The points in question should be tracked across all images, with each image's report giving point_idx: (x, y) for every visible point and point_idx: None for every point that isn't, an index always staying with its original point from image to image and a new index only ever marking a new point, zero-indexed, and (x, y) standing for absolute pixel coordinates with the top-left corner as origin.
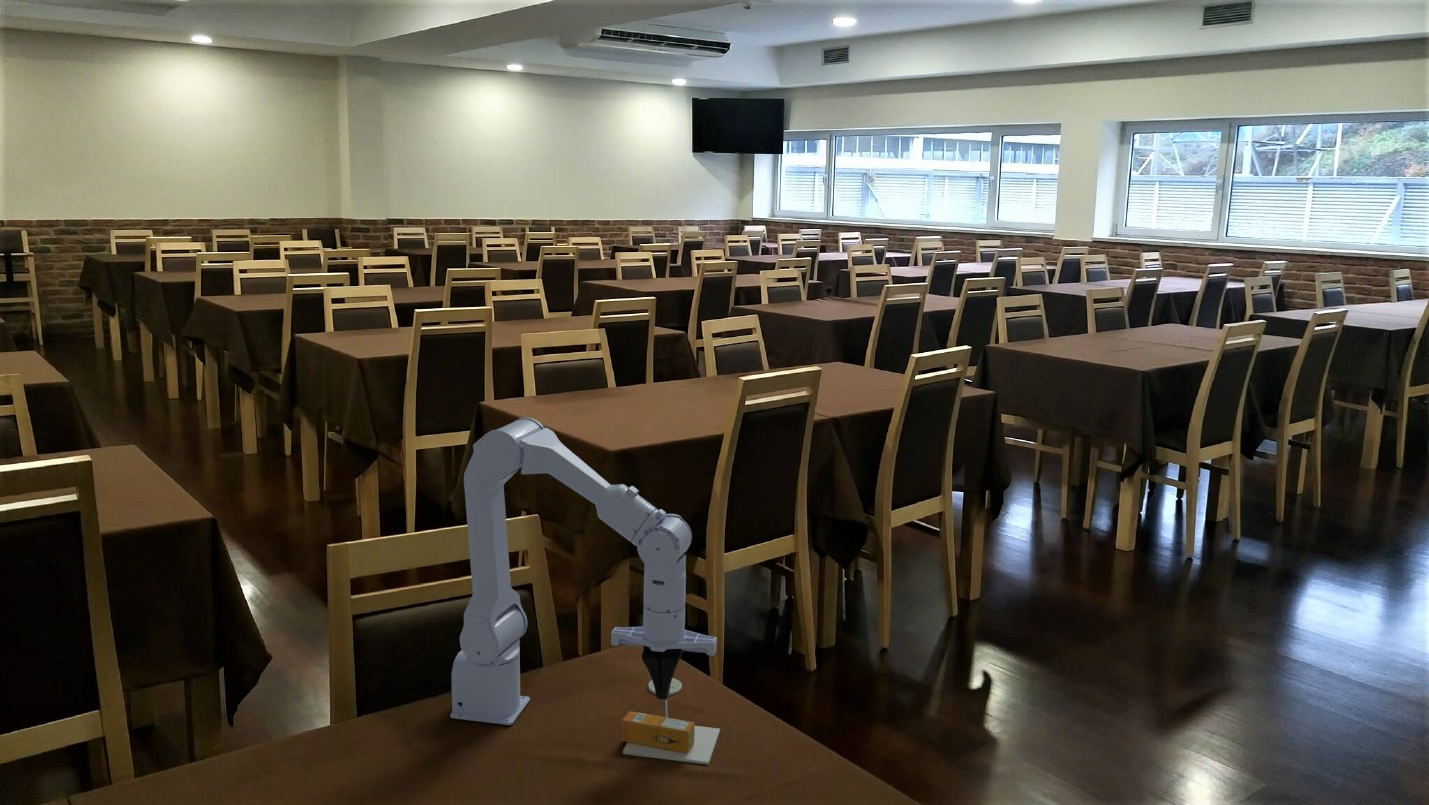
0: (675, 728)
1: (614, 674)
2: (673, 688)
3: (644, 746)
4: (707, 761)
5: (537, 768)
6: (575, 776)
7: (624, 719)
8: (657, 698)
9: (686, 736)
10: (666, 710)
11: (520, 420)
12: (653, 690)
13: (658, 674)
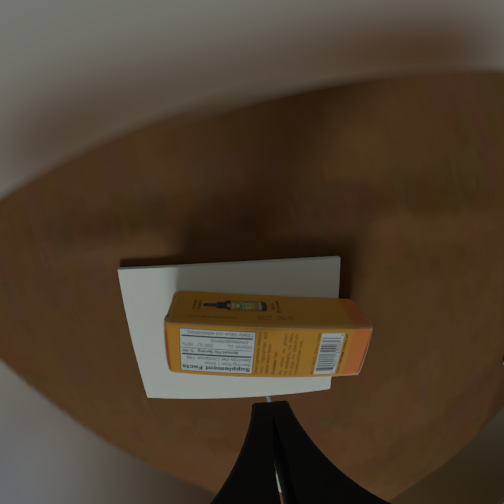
0: (208, 330)
1: (386, 471)
2: None
3: (293, 294)
4: (120, 271)
5: (480, 157)
6: (413, 137)
7: (367, 331)
8: (284, 401)
9: (172, 313)
10: None
11: None
12: None
13: (293, 473)
